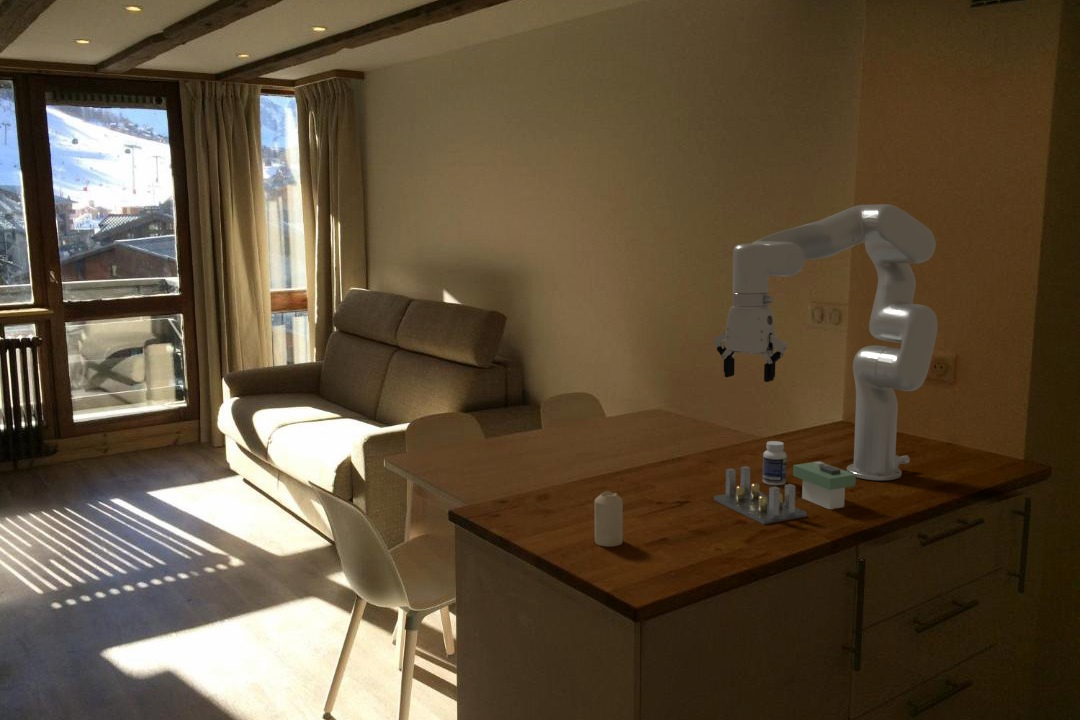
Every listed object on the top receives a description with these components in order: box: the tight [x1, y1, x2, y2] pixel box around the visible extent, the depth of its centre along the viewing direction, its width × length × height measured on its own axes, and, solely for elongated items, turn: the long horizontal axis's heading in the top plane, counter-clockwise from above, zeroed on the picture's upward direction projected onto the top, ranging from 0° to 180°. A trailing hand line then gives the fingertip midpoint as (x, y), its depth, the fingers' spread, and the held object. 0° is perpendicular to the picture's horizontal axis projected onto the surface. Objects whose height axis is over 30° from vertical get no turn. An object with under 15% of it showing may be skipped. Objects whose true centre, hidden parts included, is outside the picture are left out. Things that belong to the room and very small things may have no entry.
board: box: [792, 461, 857, 490], centre depth 198 cm, size 7×12×3 cm, turn 23°
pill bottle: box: [762, 440, 788, 486], centre depth 214 cm, size 5×5×10 cm
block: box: [801, 480, 846, 510], centre depth 199 cm, size 4×9×5 cm, turn 23°
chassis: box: [713, 465, 807, 525], centre depth 196 cm, size 11×18×7 cm, turn 23°
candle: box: [593, 490, 624, 548], centre depth 177 cm, size 6×6×10 cm
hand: (748, 378), depth 198 cm, fingers open, 9 cm apart
